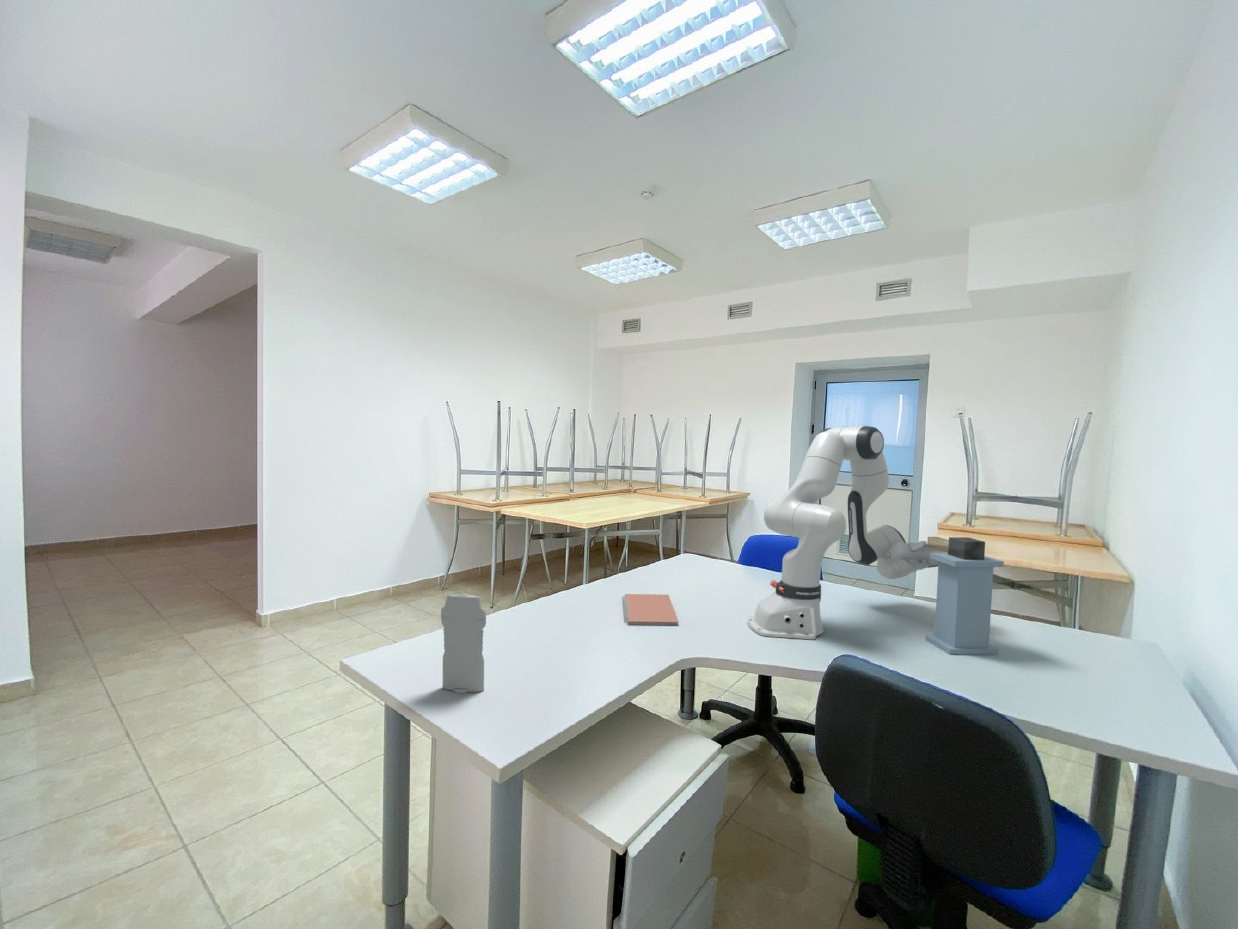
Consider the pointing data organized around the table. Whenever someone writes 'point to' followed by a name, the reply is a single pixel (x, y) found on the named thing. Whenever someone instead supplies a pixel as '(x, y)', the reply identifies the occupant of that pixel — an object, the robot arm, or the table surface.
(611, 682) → the table surface
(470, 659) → the tall pale column
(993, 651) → the stand
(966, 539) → the mallet
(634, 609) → the notebook
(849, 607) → the table surface
